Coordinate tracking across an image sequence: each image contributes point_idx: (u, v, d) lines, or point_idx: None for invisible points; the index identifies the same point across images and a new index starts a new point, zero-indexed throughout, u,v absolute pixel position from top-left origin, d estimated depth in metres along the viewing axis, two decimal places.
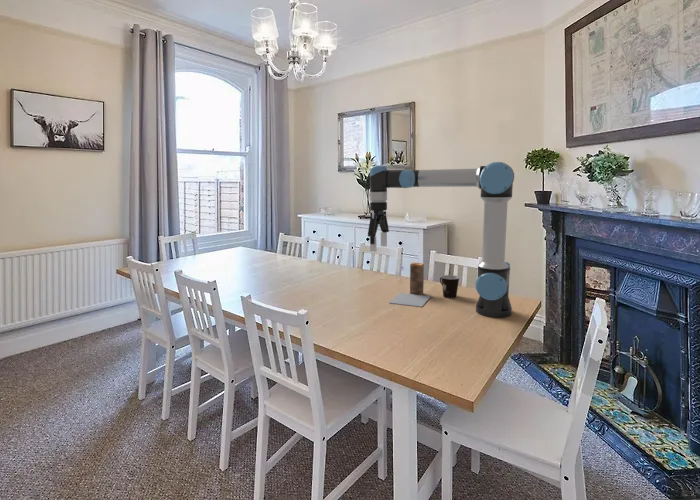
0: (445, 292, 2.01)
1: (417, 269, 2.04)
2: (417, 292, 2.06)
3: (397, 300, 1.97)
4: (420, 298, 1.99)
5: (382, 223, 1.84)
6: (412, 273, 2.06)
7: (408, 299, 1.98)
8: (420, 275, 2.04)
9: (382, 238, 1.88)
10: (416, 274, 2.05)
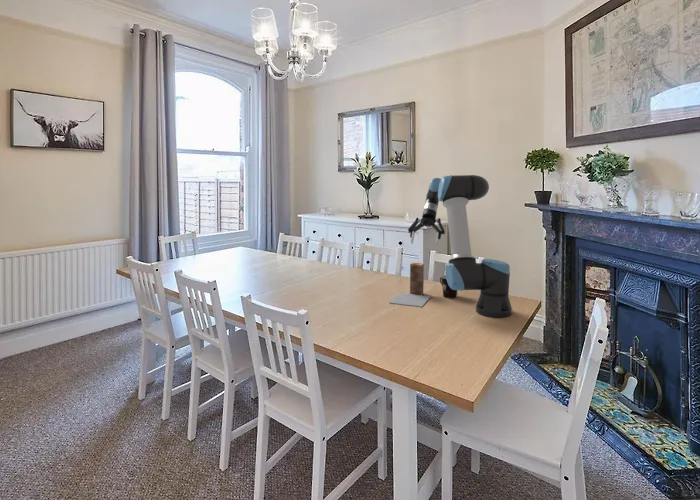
0: (445, 292, 2.01)
1: (417, 269, 2.04)
2: (417, 292, 2.06)
3: (397, 300, 1.97)
4: (420, 298, 1.99)
5: (433, 226, 2.24)
6: (412, 273, 2.06)
7: (408, 299, 1.98)
8: (420, 275, 2.04)
9: None
10: (416, 274, 2.05)
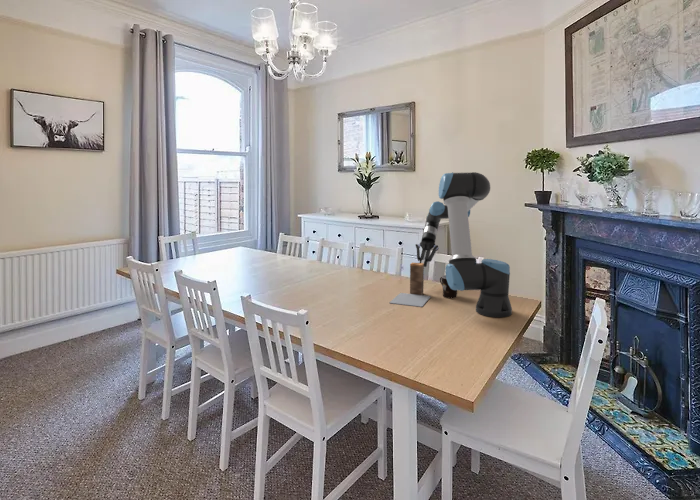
0: (445, 292, 2.01)
1: (417, 269, 2.04)
2: (417, 292, 2.06)
3: (397, 300, 1.97)
4: (420, 298, 1.99)
5: None
6: (412, 273, 2.06)
7: (408, 299, 1.98)
8: (420, 275, 2.04)
9: None
10: (416, 274, 2.05)
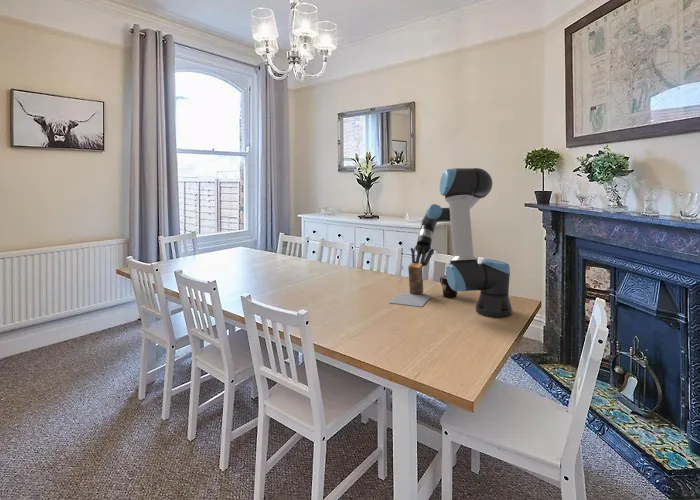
0: (445, 292, 2.01)
1: (415, 271, 2.02)
2: (417, 292, 2.06)
3: (397, 300, 1.97)
4: (420, 298, 1.99)
5: None
6: (410, 275, 2.04)
7: (408, 299, 1.98)
8: (419, 277, 2.02)
9: None
10: (415, 276, 2.03)
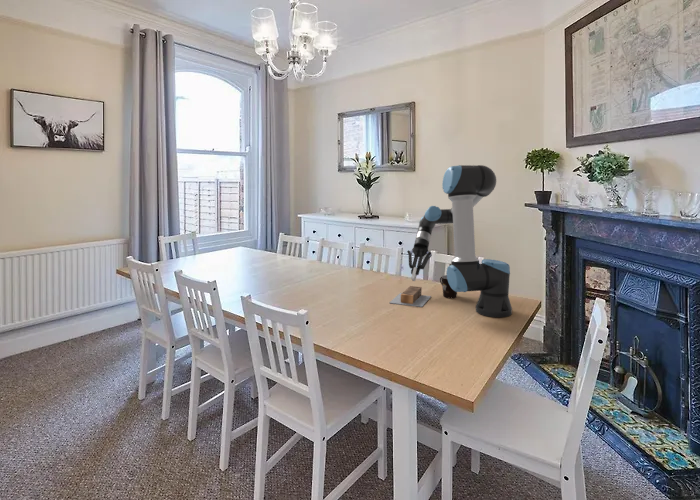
0: (445, 292, 2.01)
1: None
2: None
3: (397, 300, 1.97)
4: (420, 298, 1.99)
5: None
6: None
7: None
8: None
9: None
10: None
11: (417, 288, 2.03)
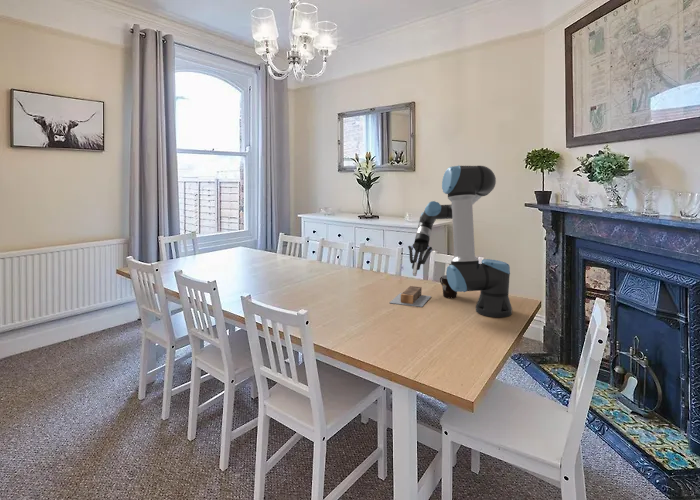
0: (445, 292, 2.01)
1: None
2: None
3: (397, 300, 1.97)
4: (420, 298, 1.99)
5: None
6: None
7: None
8: None
9: None
10: None
11: (417, 288, 2.03)
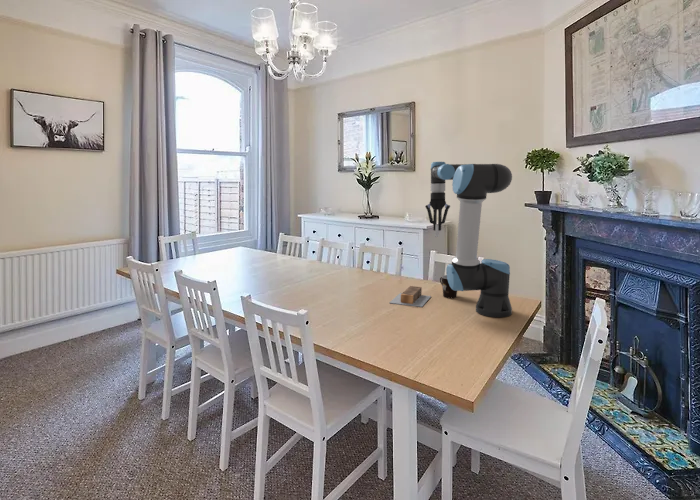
0: (445, 292, 2.01)
1: None
2: None
3: (397, 300, 1.97)
4: (420, 298, 1.99)
5: None
6: None
7: None
8: None
9: None
10: None
11: (417, 288, 2.03)
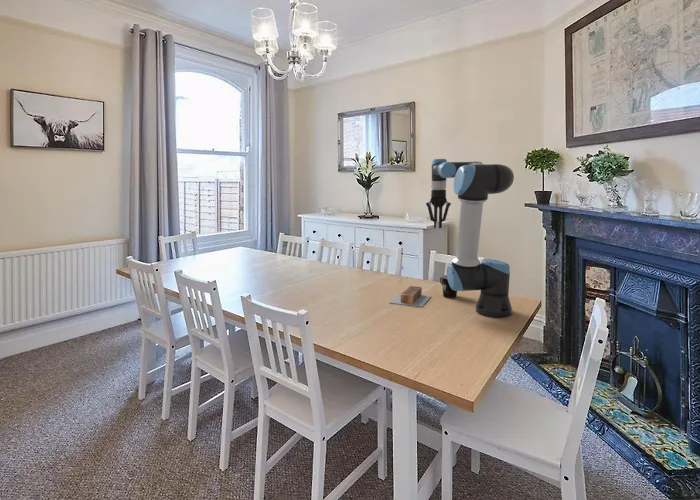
0: (445, 292, 2.01)
1: None
2: None
3: (397, 300, 1.97)
4: (420, 298, 1.99)
5: None
6: None
7: None
8: None
9: None
10: None
11: (417, 288, 2.03)
